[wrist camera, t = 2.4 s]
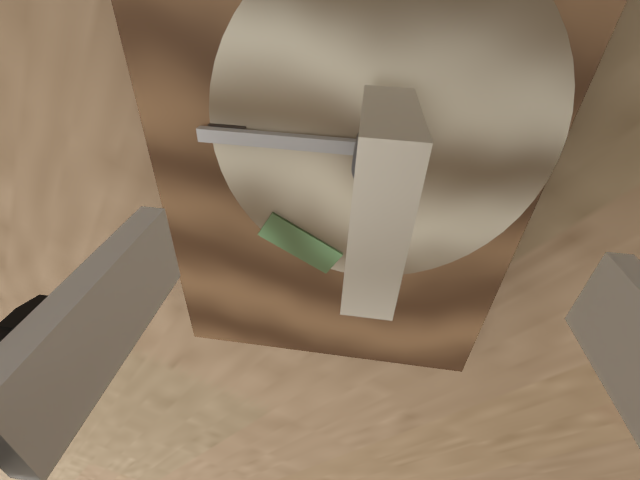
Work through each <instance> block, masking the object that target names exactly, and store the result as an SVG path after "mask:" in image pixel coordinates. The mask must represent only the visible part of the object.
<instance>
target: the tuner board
mask: <svg viewBox="0 0 640 480" xmlns="http://www.w3.org/2000/svg"><path fill="white" fill-rule="evenodd" d="M111 2H112V6H113V10H114V14H115V18H116V22H117V26H118V30H119V34H120V38H121V42H122V46H123V50H124V54H125V58H126V62H127V66H128V70H129V74H130V78H131V82H132V86H133V90H134V94H135V98H136V102H137V106H138V110H139V114H140V118H141V123H142V127H143V131H144V135H145V139H146V143H147V147H148V151H149V155H150V159H151V163H152V167H153V171H154V175H155V179H156V183H157V187H158V191H159V195H160V199H161V203H162V207H163V209H165V212H166V216H167V220H168V224H169V229H170V233H171V237H172V241H173V246H174V250H175V254H176V258H177V262H178V267H179V271H180V275H181V276H180V280H181V284H182V288H183V292H184V296H185V300H186V304H187V308H188V312H189V316H190V320H191V324H192V328H193V332H194V336H195V337H203V338H210V339H218V340H226V341H233V342H241V343H248V344H256V345H264V346H271V347H279V348H286V349H294V350H302V351H309V352H317V353H324V354H332V355H340V356H347V357H355V358H362V359H370V360H378V361H385V362H393V363H400V364H408V365H416V366H423V367H431V368H438V369H446V370H454V371H461V372H462V370H463V368H464V365H465V363H466V361H467V359H468V356H469V354H470V352H471V350H472V347H473V345H474V343H475V341H476V339H477V336H478V334H479V332H480V330H481V327H482V325H483V323H484V321H485V318H486V316H487V314H488V312H489V309H490V307H491V305H492V303H493V300H494V298H495V296H496V294H497V291H498V289H499V287H500V285H501V282H502V280H503V278H504V276H505V274H506V271H507V269H508V267H509V265H510V262H511V260H512V258H513V256H514V253H515V251H516V249H517V247H518V244H519V242H520V240H521V238H522V235H523V233H524V231H525V229H526V226H527V224H528V222H529V220H530V218H531V215H532V213H533V211H534V209H535V206H536V204H537V202H538V200H539V197H540V195H541V193H542V191H543V188H544V186H545V184H546V182H547V181H548V179H549V177H550V175H551V173H552V171H553V169H554V168H555V166H556V164H557V162H558V160H559V157H560V155H561V152H562V149H563V147H564V144H565V141H566V139H567V135H568V132H569V130H570V128H571V126H572V123H573V121H574V119H575V117H576V114H577V112H578V110H579V108H580V106H581V103H582V101H583V99H584V97H585V94H586V92H587V90H588V88H589V85H590V83H591V81H592V79H593V76H594V74H595V72H596V70H597V67H598V65H599V63H600V61H601V58H602V56H603V54H604V52H605V49H606V47H607V45H608V43H609V41H610V38H611V36H612V34H613V32H614V29H615V27H616V25H617V23H618V20H619V18H620V16H621V14H622V11H623V9H624V7H625V5H626V2H627V0H111ZM364 85H374V86H388V87H402V88H415V91H416V94H417V97H418V100H419V103H420V106H421V109H422V112H423V115H424V118H425V121H426V124H427V127H428V130H429V133H430V136H431V139H432V142H433V146H432V150H431V154H430V159H429V163H428V167H427V172H426V176H425V180H424V185H423V189H422V194H421V198H420V202H419V207H418V211H417V215H416V220H415V224H414V229H413V233H412V237H411V242H410V246H409V250H408V255H407V259H406V264H405V268H404V272H403V277H402V281H401V285H400V290H399V294H398V298H397V303H396V307H395V312H394V316H393V320H392V321H389V320H381V319H373V318H365V317H357V316H348V315H340V309H341V300H342V290H343V280H344V271H345V261H346V251H347V241H348V232H349V222H350V212H351V203H352V193H353V183H354V178H353V176H352V170H351V168H352V160H353V155H343V154H331V153H320V152H308V151H297V150H285V149H274V148H263V147H251V146H240V145H228V144H217V143H205V142H198V139H197V132H196V128H197V127H199V126H211V127H223V128H235V129H247V130H258V131H270V132H282V133H294V134H306V135H318V136H330V137H342V138H354V139H356V136H357V134H358V133H359V127H360V119H361V110H362V102H363V94H364Z"/></svg>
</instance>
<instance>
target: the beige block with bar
mask: <svg viewBox="0 0 640 480" xmlns="http://www.w3.org/2000/svg"><path fill="white" fill-rule="evenodd" d="M196 132H197V139H198V142H205V143H217V144H228V145H240V146H251V147H263V148H274V149H285V150H297V151H308V152H320V153H331V154H343V155H353V160H352V168H351V170H352V176H353V178H354V183H353V193H352V203H351V212H350V222H349V232H348V241H347V251H346V261H345V271H344V280H343V290H342V300H341V309H340V315H348V316H357V317H365V318H373V319H381V320H389V321H392V320H393V316H394V312H395V307H396V303H397V298H398V294H399V290H400V285H401V281H402V277H403V272H404V268H405V264H406V259H407V255H408V250H409V246H410V242H411V237H412V233H413V229H414V224H415V220H416V215H417V211H418V207H419V202H420V198H421V194H422V189H423V185H424V180H425V176H426V172H427V167H428V163H429V159H430V154H431V150H432V146H433V142H432V139H431V136H430V133H429V130H428V127H427V124H426V121H425V118H424V115H423V112H422V109H421V106H420V103H419V100H418V97H417V94H416V91H415V88H402V87H388V86H374V85H364V94H363V102H362V110H361V119H360V127H359V133H358V134H357V136H356V139H354V138H342V137H330V136H318V135H306V134H294V133H282V132H270V131H258V130H247V129H235V128H223V127H211V126H199V127H197V128H196Z"/></svg>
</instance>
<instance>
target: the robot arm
mask: <svg viewBox="0 0 640 480" xmlns="http://www.w3.org/2000/svg"><path fill="white" fill-rule="evenodd" d="M180 276H181V275H180V271H179V267H178V262H177V258H176V254H175V250H174V246H173V241H172V237H171V233H170V229H169V224H168V220H167V216H166V212H165V209H163V208H153V207H143V206H141V207H140V208H139V209H138V210H137V211H136V212H135V213H134V214H133V215H132V216H131V217H130V218H129V219H128V220H127V221H126V222H125V223H123V224H122V225H121V226H120V227H119V228H118V229H117V230H116V231H115V232H114V233H113V234H112V235H111V236H110V237H109V238H108V239H107V240H106V241H105V242H104V243H103V244H102V245H101V246H100V247H98V248H97V249H96V250H95V251H94V252H93V253H92V254H91V255H90V256H89V257H88V258H87V259H86V260H85V261H84V262H83V263H82V264H81V265H80V266H79V267H78V268H77V269H76V270H75V271H73V272H72V273H71V274H70V275H69V276H68V277H67V278H66V279H65V280H64V281H63V282H62V283H61V284H60V285H59V286H58V287H57V288H56V289H55V290H54V291H53V292H52V293H51V294H50V295H48V296H46V295H38V296H36V297H35V298H33V299H31V300H29V301H28V302H26V303H24V304H23V305H21V306H19V307H17V308H16V309H14V310H13V311H12V312H11V313H10V314H9V315H8V316H7V317H6V318H5V319H3V320H2V321H1V322H0V468H1V469H2V470H3V471H4V472H5V473H6V474H7V475H8V476H9V477H10V478H15V479H22V480H47V478H48V476H49V475H50V473H51V472H52V470H53V469H54V467H55V466H56V464H57V463H58V461H59V460H60V458H61V457H62V455H63V454H64V452H65V451H66V449H67V448H68V446H69V445H70V443H71V442H72V440H73V439H74V437H75V435H76V434H77V432H78V431H79V429H80V428H81V426H82V425H83V423H84V422H85V420H86V419H87V417H88V416H89V414H90V413H91V411H92V410H93V408H94V407H95V405H96V404H97V402H98V401H99V399H100V397H101V396H102V394H103V393H104V391H105V390H106V388H107V387H108V385H109V384H110V382H111V381H112V379H113V378H114V376H115V375H116V373H117V372H118V370H119V369H120V367H121V366H122V364H123V363H124V361H125V360H126V358H127V356H128V355H129V353H130V352H131V350H132V349H133V347H134V346H135V344H136V343H137V341H138V340H139V338H140V337H141V335H142V334H143V332H144V331H145V329H146V328H147V326H148V325H149V323H150V322H151V320H152V319H153V317H154V315H155V314H156V312H157V311H158V309H159V308H160V306H161V305H162V303H163V302H164V300H165V299H166V297H167V296H168V294H169V293H170V291H171V290H172V288H173V287H174V285H175V284H176V282H177V281H178V279H179V277H180ZM565 320H566V322H567V323H568V325H569V327H570V328H571V330H572V332H573V334H574V335H575V337H576V339H577V341H578V342H579V344H580V346H581V348H582V349H583V351H584V353H585V355H586V356H587V358H588V360H589V361H590V363H591V365H592V367H593V368H594V370H595V372H596V374H597V375H598V377H599V379H600V381H601V382H602V384H603V386H604V388H605V389H606V391H607V393H608V394H609V396H610V398H611V400H612V401H613V403H614V405H615V407H616V408H617V410H618V412H619V414H620V415H621V417H622V419H623V421H624V422H625V424H626V426H627V427H628V429H629V431H630V433H631V434H632V436H633V438H634V440H635V441H636V443H637V445H638V447H639V448H640V260H639V259H638V258H637V257H636V256H635V255H633V254H622V253H612V252H606V253H605V254H604V256H603V257H602V259H601V261H600V262H599V264H598V266H597V267H596V269H595V270H594V272H593V274H592V275H591V277H590V279H589V280H588V282H587V283H586V285H585V287H584V288H583V290H582V291H581V293H580V295H579V296H578V298H577V300H576V301H575V303H574V304H573V306H572V308H571V309H570V311H569V313H568V314H567V316H566V317H565Z"/></svg>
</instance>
